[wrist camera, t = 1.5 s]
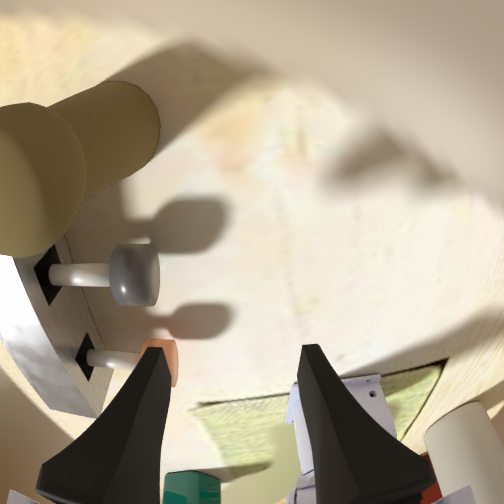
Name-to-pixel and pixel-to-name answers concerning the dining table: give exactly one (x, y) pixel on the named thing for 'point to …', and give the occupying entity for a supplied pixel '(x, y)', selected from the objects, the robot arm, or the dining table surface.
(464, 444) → the cylinder vase
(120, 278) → the gray knob
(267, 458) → the dining table surface
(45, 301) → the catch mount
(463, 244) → the dining table surface
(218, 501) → the green bottle
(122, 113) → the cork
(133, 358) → the terracotta knob
